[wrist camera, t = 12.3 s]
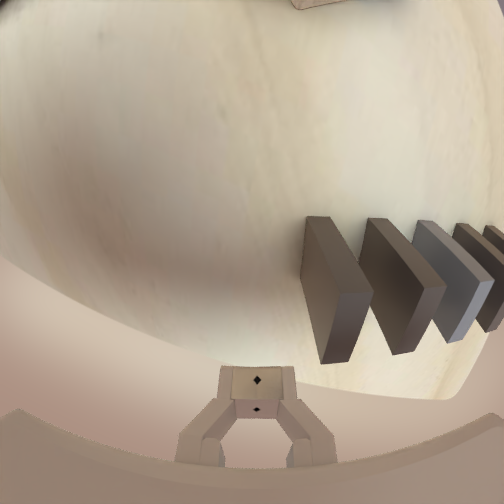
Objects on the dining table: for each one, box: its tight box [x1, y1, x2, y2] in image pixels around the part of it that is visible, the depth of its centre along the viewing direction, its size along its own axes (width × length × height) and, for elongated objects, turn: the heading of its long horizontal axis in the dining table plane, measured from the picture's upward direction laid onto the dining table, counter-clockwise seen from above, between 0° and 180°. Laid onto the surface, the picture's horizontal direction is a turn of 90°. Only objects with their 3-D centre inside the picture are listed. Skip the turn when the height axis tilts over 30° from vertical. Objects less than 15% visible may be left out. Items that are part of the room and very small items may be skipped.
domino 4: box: [452, 223, 504, 333], centre depth 16 cm, size 2×5×8 cm, turn 0°
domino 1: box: [300, 216, 374, 364], centre depth 16 cm, size 2×5×8 cm, turn 0°
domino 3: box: [412, 220, 495, 344], centre depth 16 cm, size 2×5×8 cm, turn 0°
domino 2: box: [359, 218, 447, 355], centre depth 16 cm, size 2×5×8 cm, turn 0°
